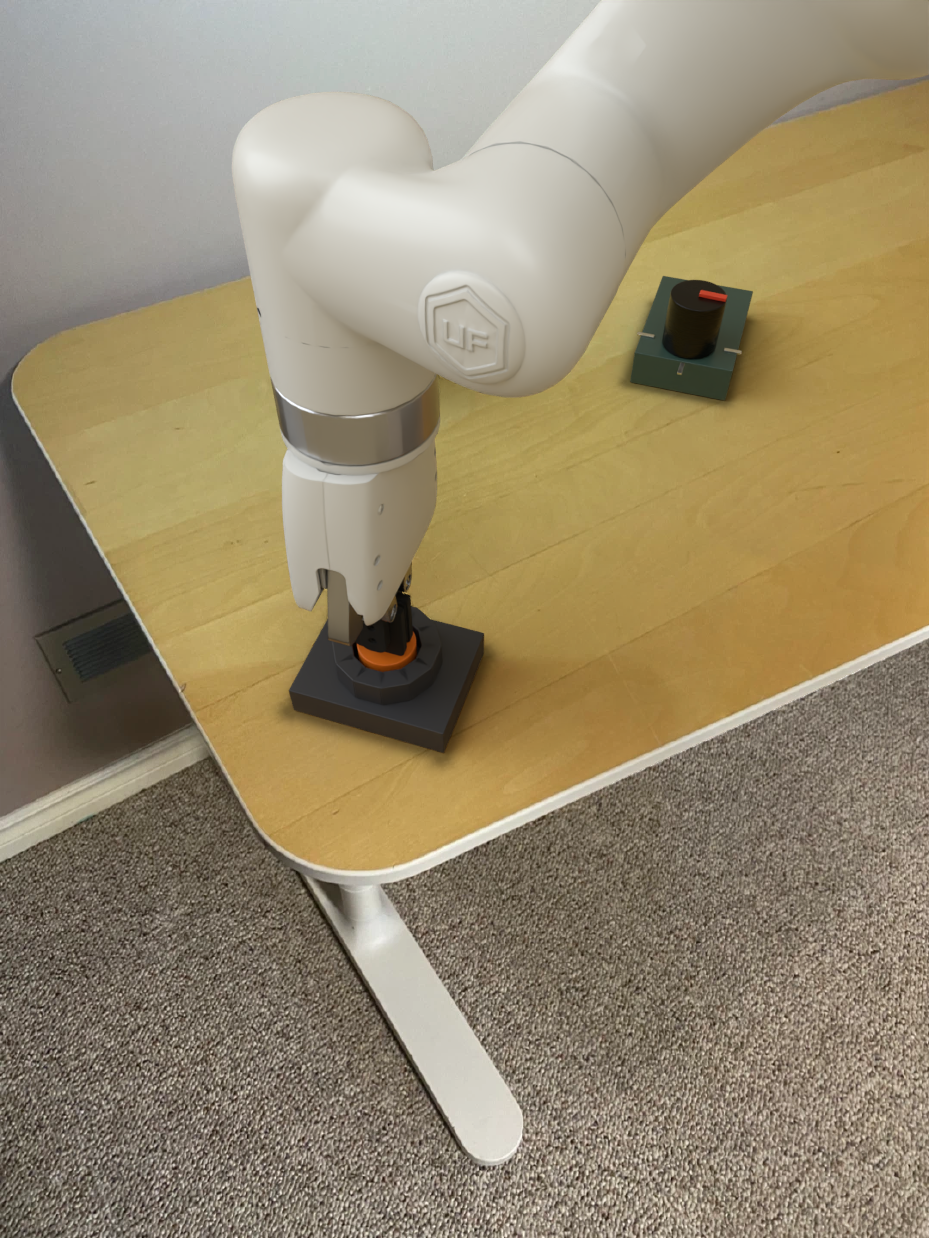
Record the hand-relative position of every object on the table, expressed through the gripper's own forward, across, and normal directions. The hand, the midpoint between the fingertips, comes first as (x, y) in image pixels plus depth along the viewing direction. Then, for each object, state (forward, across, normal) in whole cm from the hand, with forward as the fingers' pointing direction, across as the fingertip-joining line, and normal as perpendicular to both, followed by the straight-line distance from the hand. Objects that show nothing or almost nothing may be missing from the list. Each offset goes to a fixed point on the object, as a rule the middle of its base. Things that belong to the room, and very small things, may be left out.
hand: (384, 640), depth 58 cm
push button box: (+4, 0, 0) cm, 4 cm away
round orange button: (+2, 0, 0) cm, 2 cm away
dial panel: (+4, -41, +12) cm, 43 cm away
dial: (+1, -38, +12) cm, 39 cm away
